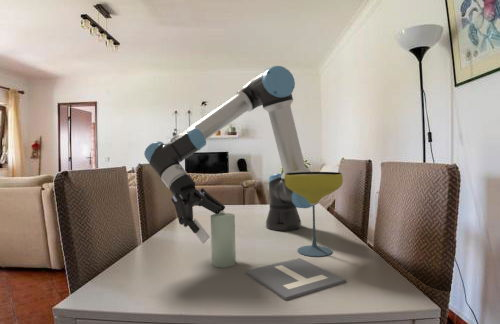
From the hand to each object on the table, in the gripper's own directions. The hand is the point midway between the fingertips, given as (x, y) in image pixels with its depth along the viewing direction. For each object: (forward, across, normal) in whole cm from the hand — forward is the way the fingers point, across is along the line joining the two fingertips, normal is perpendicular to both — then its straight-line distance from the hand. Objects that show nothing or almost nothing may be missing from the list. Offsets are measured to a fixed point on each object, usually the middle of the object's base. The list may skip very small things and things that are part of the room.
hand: (220, 234), depth 89 cm
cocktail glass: (+22, +21, -10) cm, 32 cm away
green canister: (+7, 0, +5) cm, 8 cm away
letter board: (+22, -1, -10) cm, 24 cm away
